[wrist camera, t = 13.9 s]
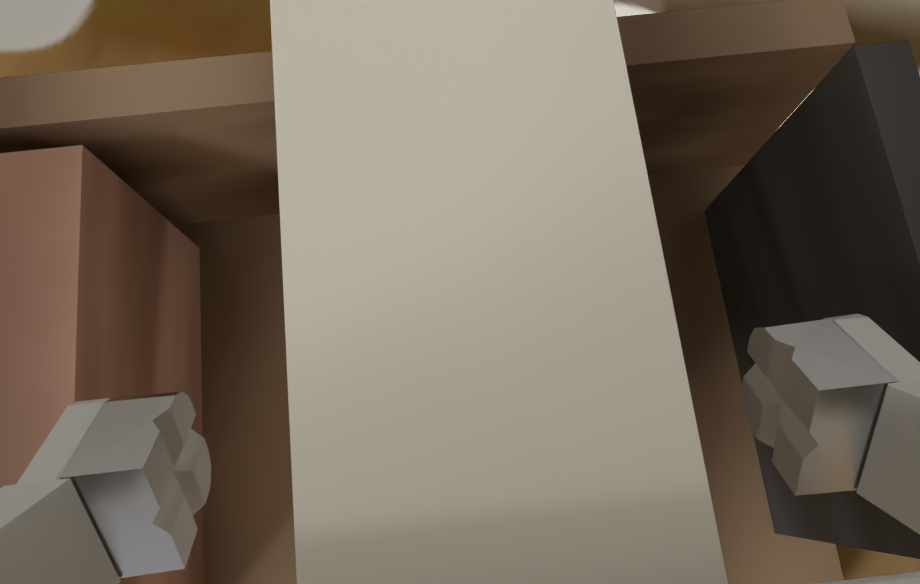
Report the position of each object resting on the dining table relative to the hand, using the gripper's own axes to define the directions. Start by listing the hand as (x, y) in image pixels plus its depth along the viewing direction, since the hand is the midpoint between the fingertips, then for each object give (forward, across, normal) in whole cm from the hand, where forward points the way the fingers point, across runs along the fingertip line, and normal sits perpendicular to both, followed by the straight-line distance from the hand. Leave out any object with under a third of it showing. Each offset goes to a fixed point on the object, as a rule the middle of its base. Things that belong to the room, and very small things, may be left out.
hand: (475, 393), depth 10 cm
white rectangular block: (+7, 0, +6) cm, 9 cm away
